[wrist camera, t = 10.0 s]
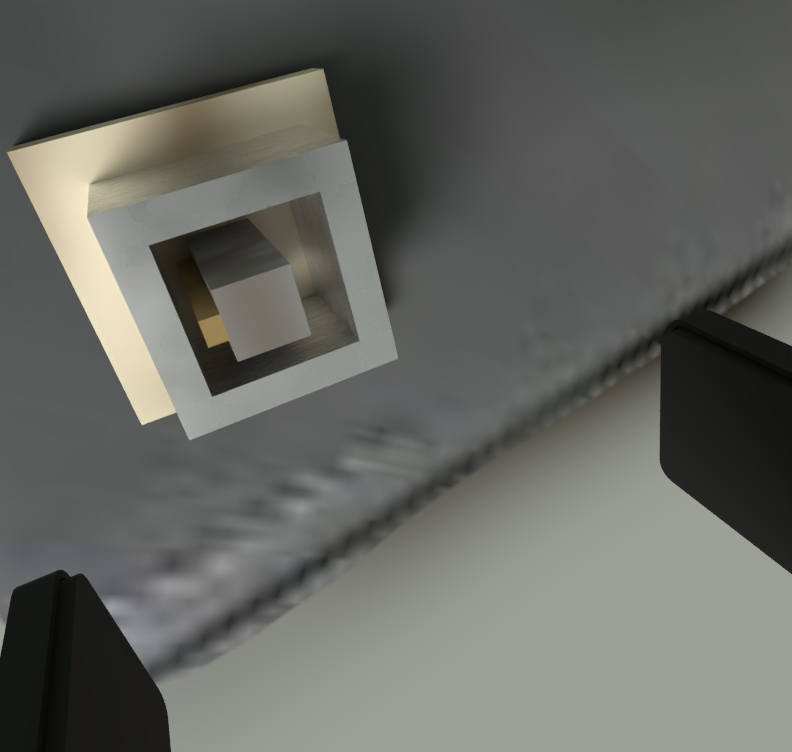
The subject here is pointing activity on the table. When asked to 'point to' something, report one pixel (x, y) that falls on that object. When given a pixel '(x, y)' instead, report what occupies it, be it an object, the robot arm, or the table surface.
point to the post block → (192, 252)
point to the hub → (224, 200)
